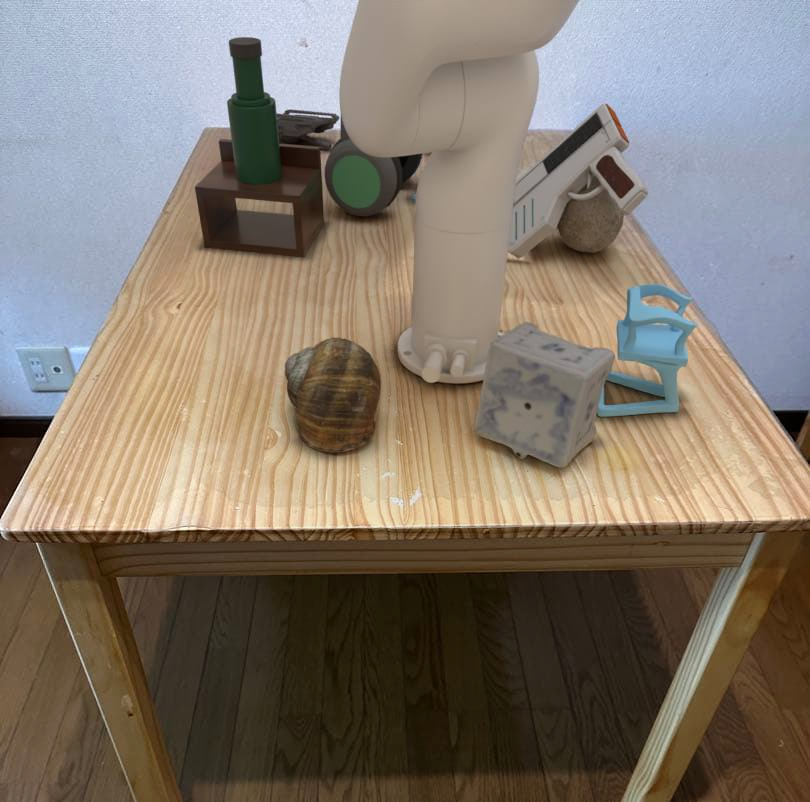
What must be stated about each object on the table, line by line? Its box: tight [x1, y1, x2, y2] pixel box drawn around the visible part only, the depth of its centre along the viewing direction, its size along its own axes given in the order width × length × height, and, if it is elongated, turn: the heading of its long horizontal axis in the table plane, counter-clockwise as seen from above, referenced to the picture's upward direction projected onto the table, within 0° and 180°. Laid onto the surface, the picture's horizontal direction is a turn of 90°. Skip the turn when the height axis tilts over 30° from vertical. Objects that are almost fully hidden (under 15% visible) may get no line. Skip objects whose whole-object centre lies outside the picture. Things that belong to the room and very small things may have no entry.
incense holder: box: [473, 321, 616, 468], centre depth 73 cm, size 10×8×10 cm
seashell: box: [284, 336, 382, 453], centre depth 76 cm, size 11×9×8 cm
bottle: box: [226, 36, 282, 184], centre depth 99 cm, size 6×6×16 cm
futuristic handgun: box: [508, 102, 649, 259], centre depth 100 cm, size 3×20×15 cm
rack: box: [194, 138, 325, 258], centre depth 106 cm, size 11×14×10 cm
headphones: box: [324, 115, 424, 217], centre depth 113 cm, size 19×11×20 cm, turn 164°
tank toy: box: [276, 108, 340, 150], centre depth 136 cm, size 12×10×5 cm
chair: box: [596, 283, 698, 418], centre depth 78 cm, size 8×8×12 cm
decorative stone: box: [557, 176, 625, 254], centre depth 104 cm, size 10×8×10 cm
